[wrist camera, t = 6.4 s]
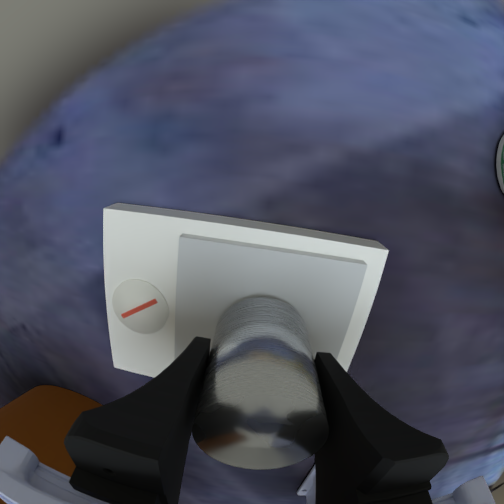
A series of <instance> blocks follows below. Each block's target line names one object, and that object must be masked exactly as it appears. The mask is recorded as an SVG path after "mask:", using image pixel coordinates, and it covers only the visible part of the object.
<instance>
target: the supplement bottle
mask: <svg viewBox="0 0 504 504" xmlns="http://www.w3.org/2000/svg"><path fill="white" fill-rule="evenodd" d="M496 169H497V177H498V181H499V184H500V187H501V190H502V192H503V193H504V135H503V136H502V138H501V140H500V143H499V146H498V151H497V157H496Z"/></svg>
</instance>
